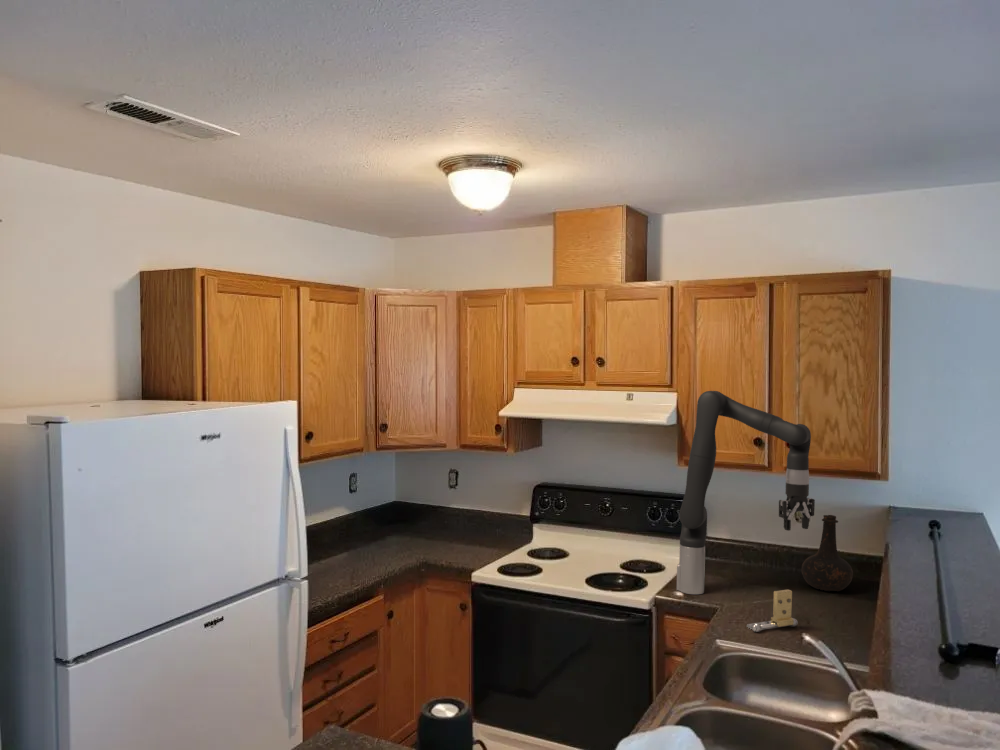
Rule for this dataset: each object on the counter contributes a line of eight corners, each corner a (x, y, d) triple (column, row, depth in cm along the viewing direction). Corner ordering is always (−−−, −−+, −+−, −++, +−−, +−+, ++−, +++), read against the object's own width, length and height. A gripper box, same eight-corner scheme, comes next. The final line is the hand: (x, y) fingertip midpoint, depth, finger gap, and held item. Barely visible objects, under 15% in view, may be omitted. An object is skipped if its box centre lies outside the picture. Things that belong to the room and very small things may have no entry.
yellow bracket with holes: (778, 626, 238) (779, 593, 238) (770, 622, 242) (771, 590, 241) (793, 624, 240) (794, 591, 240) (785, 620, 244) (786, 588, 244)
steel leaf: (756, 633, 235) (756, 625, 235) (744, 627, 241) (744, 619, 241) (798, 627, 242) (798, 619, 242) (785, 621, 247) (786, 613, 247)
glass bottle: (793, 587, 285) (795, 514, 285) (813, 578, 298) (814, 508, 297) (841, 599, 272) (843, 522, 272) (859, 589, 285) (861, 516, 284)
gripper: (789, 484, 252) (788, 533, 253) (821, 482, 258) (820, 530, 258) (773, 481, 259) (772, 528, 260) (805, 479, 265) (804, 525, 265)
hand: (796, 529), depth 259 cm, fingers open, 7 cm apart
